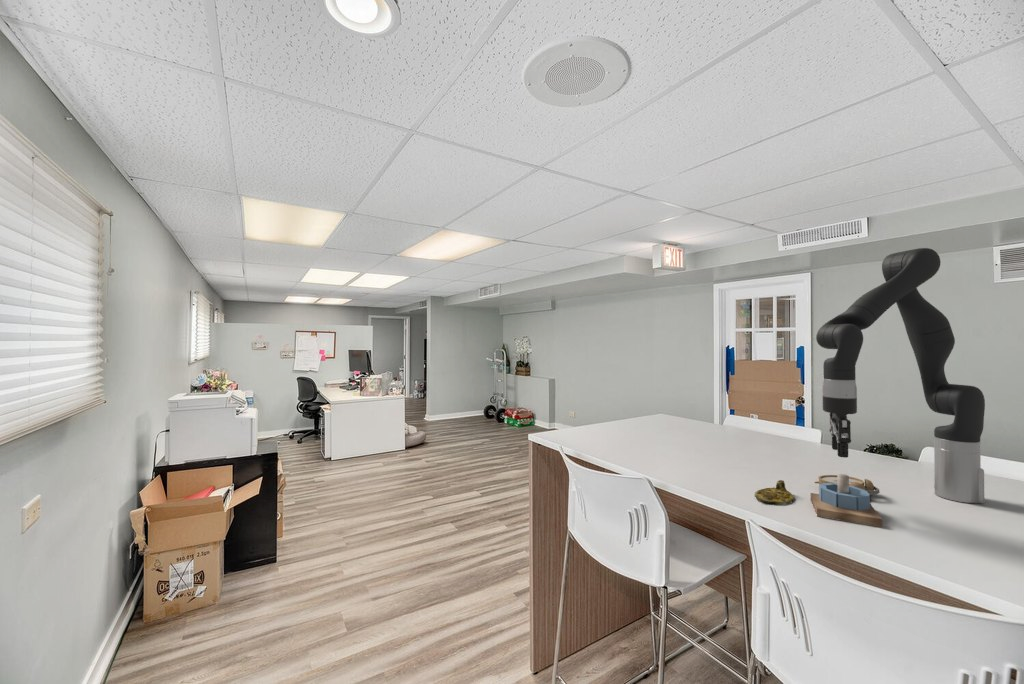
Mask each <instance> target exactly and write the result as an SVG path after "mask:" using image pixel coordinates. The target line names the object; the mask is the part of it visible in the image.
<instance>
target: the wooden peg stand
mask: <svg viewBox="0 0 1024 684" xmlns="http://www.w3.org/2000/svg"><path fill="white" fill-rule="evenodd" d="M836 475H837V483H838V493H842V494H849V477H850V476H849V475H848V474H845V473H837V474H836ZM810 502H811V504H813V505H812V507H813V509H815V510H814V512H815V514H817V515H816V516H817V517H818V516H821V517H820V518H824V517H827V518H826V519H830V518H833V519H832V520H836V519H839V520H838V521H842V520H843V521H844V522H848V521H849V523H855V524H861V525H867V526H872V525H873V527H878V526H879V528H882V527H883V526H882V524H883V523H882V522H883V521H882V520H883V519H882V517H881V516H880V515H879V514H878V512H877V511H876V509H875V507H874V506H873V505H872V504H871V503H870V509H866V510H859V511H858V510H850V509H844V508H838V507H835V506H832V505H830V504H827V503H824V502H822V501H821V500H820V497H819V493H814V492H810ZM880 526H881V527H880Z"/></svg>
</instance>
